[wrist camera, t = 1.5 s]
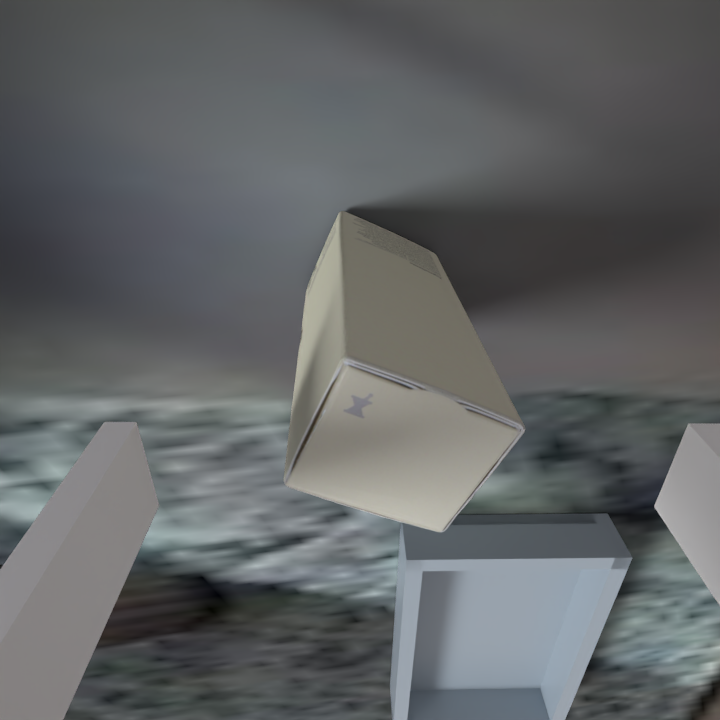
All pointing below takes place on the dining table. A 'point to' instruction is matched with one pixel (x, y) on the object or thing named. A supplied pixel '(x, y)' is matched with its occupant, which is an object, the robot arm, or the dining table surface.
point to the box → (392, 384)
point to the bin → (501, 614)
